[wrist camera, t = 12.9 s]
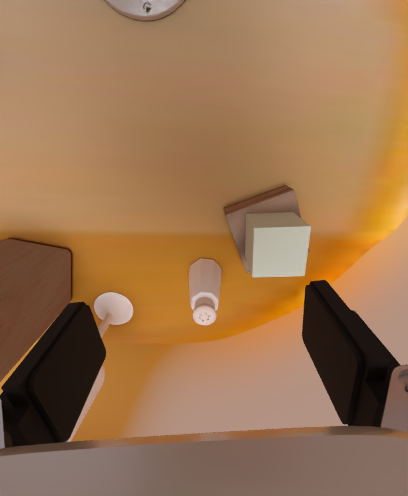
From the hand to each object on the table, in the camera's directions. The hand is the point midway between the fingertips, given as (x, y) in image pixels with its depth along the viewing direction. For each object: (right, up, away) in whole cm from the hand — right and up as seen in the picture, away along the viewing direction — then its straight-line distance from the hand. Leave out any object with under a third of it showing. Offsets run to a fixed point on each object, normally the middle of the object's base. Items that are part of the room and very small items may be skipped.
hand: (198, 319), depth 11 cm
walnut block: (+9, +6, +26) cm, 28 cm away
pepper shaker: (0, -1, +29) cm, 29 cm away
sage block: (+9, +5, +22) cm, 25 cm away
